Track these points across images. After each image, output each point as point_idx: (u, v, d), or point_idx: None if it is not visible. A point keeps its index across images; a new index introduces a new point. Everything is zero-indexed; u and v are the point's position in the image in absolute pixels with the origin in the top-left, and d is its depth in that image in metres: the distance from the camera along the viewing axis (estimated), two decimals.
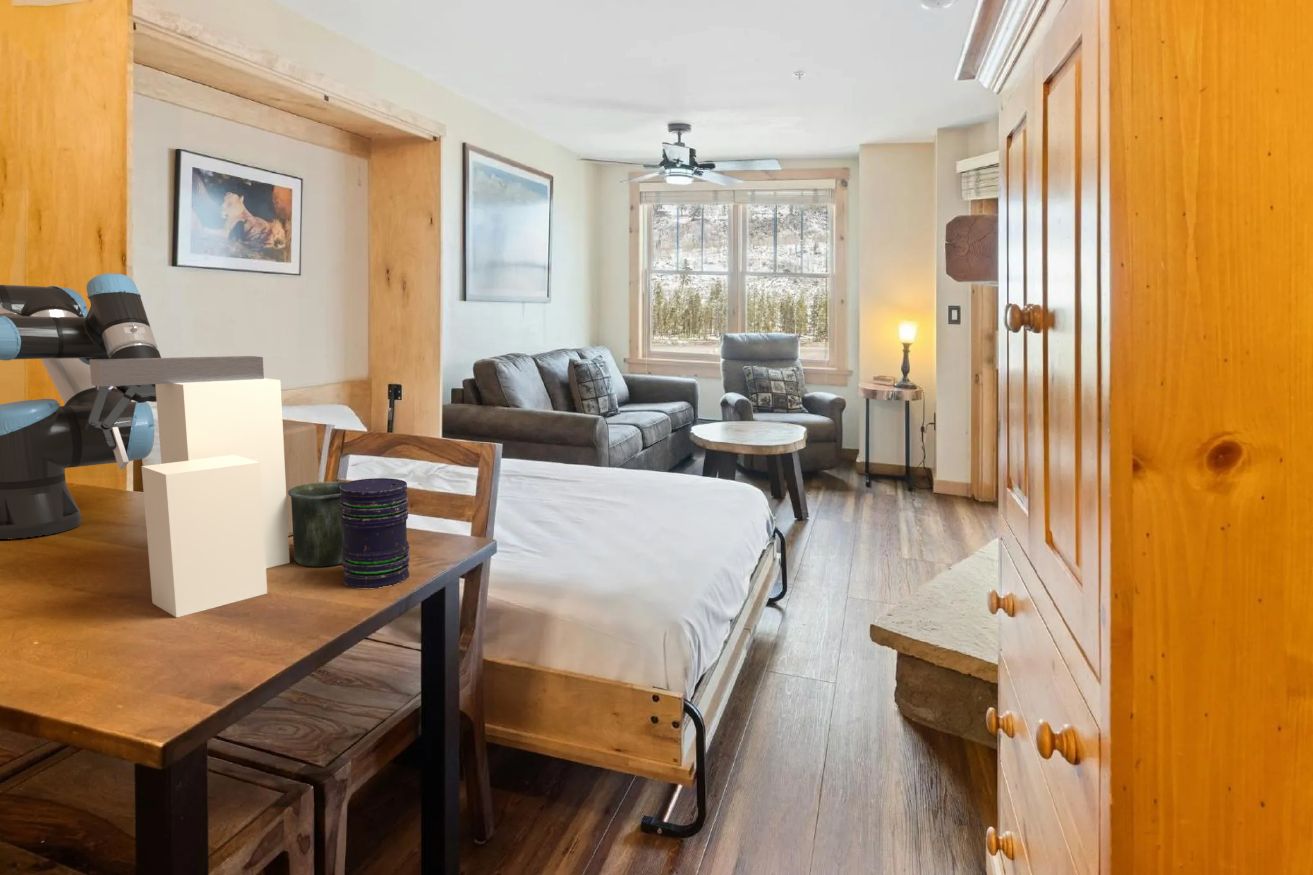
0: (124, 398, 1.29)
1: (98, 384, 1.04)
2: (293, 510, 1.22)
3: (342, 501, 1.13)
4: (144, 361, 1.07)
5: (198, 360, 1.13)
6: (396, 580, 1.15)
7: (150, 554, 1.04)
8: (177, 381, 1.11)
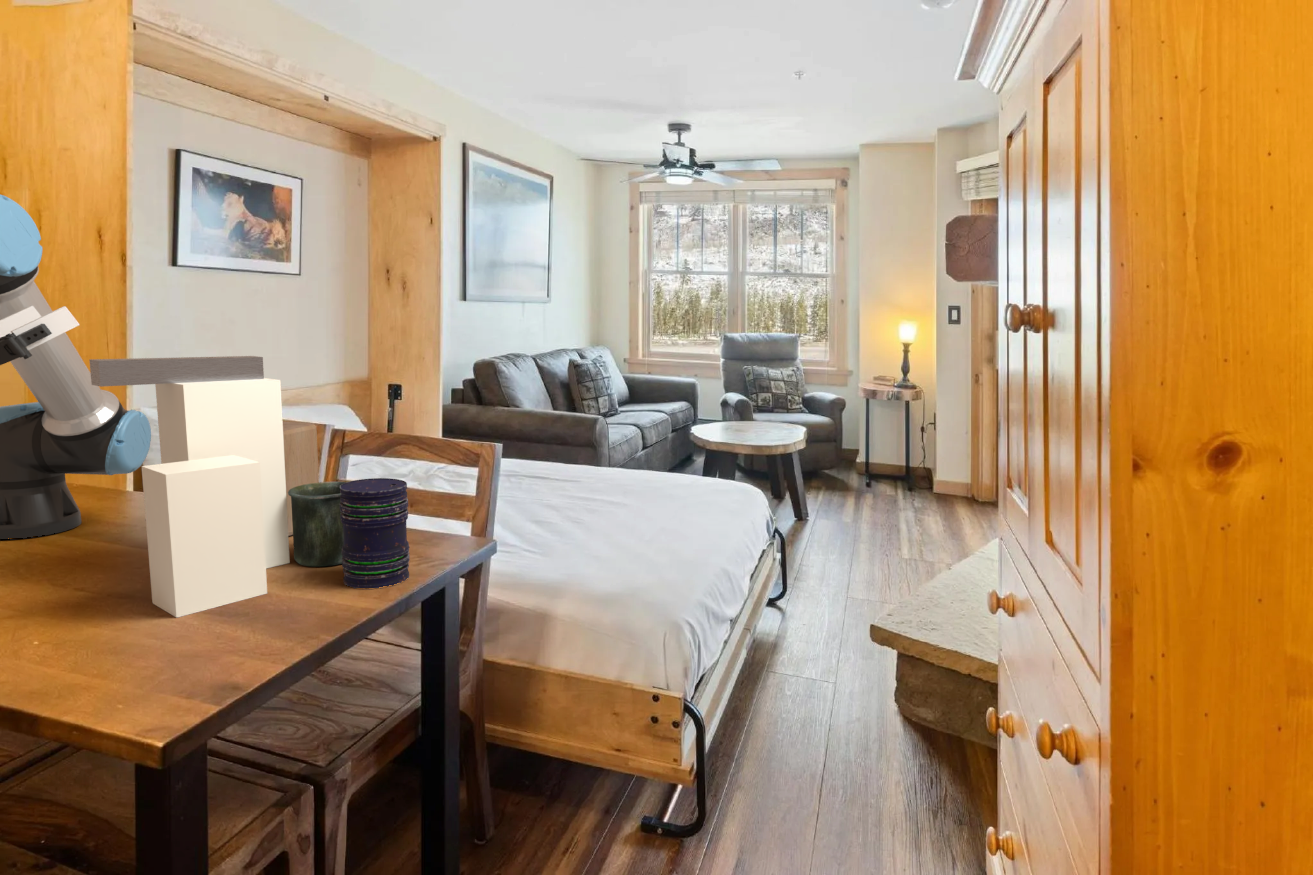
0: None
1: (98, 384, 1.04)
2: (293, 510, 1.22)
3: (342, 501, 1.13)
4: (144, 361, 1.07)
5: (198, 360, 1.13)
6: (396, 580, 1.15)
7: (150, 554, 1.04)
8: (177, 381, 1.11)
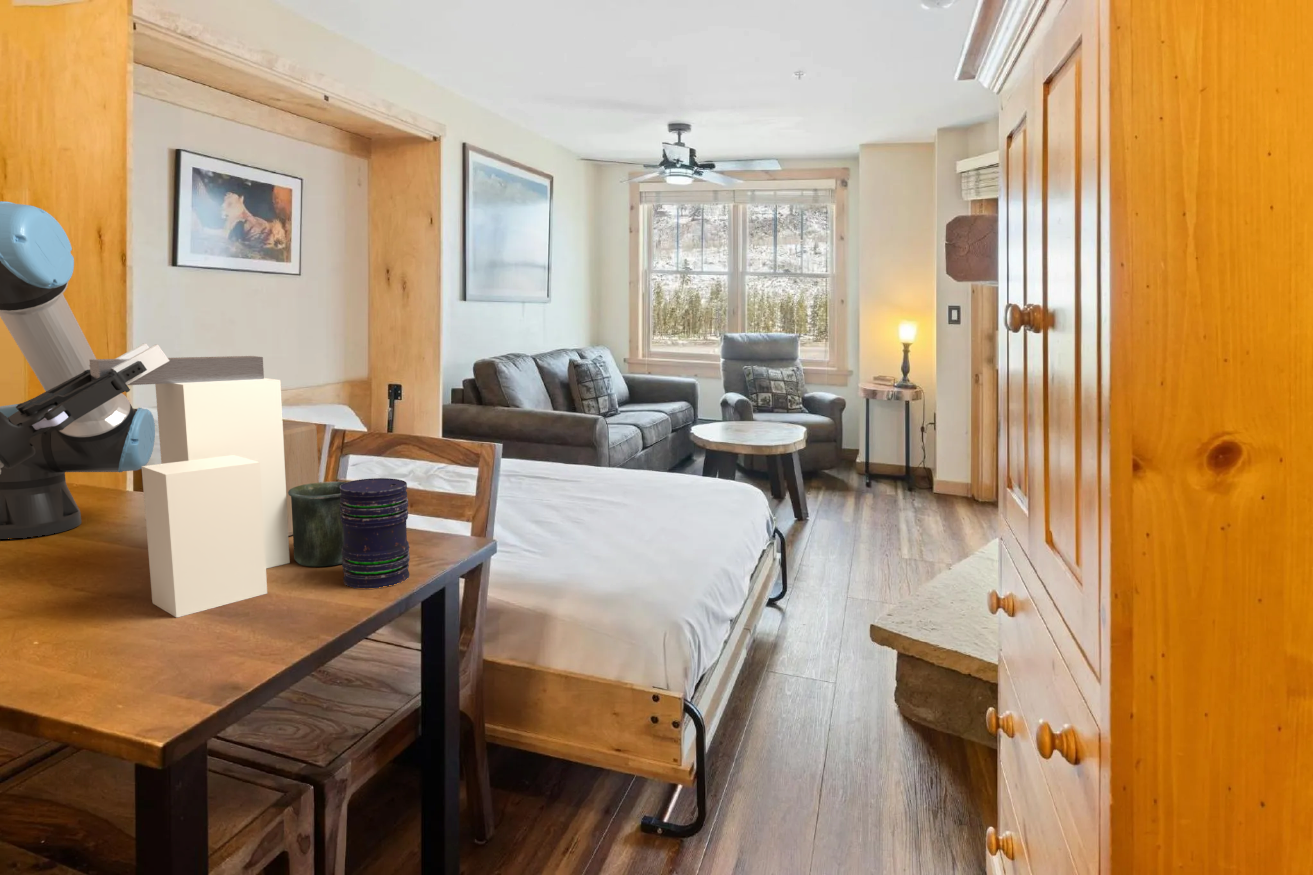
0: None
1: None
2: (293, 510, 1.22)
3: (342, 501, 1.13)
4: None
5: (198, 360, 1.13)
6: (396, 580, 1.15)
7: (150, 554, 1.04)
8: (177, 381, 1.11)
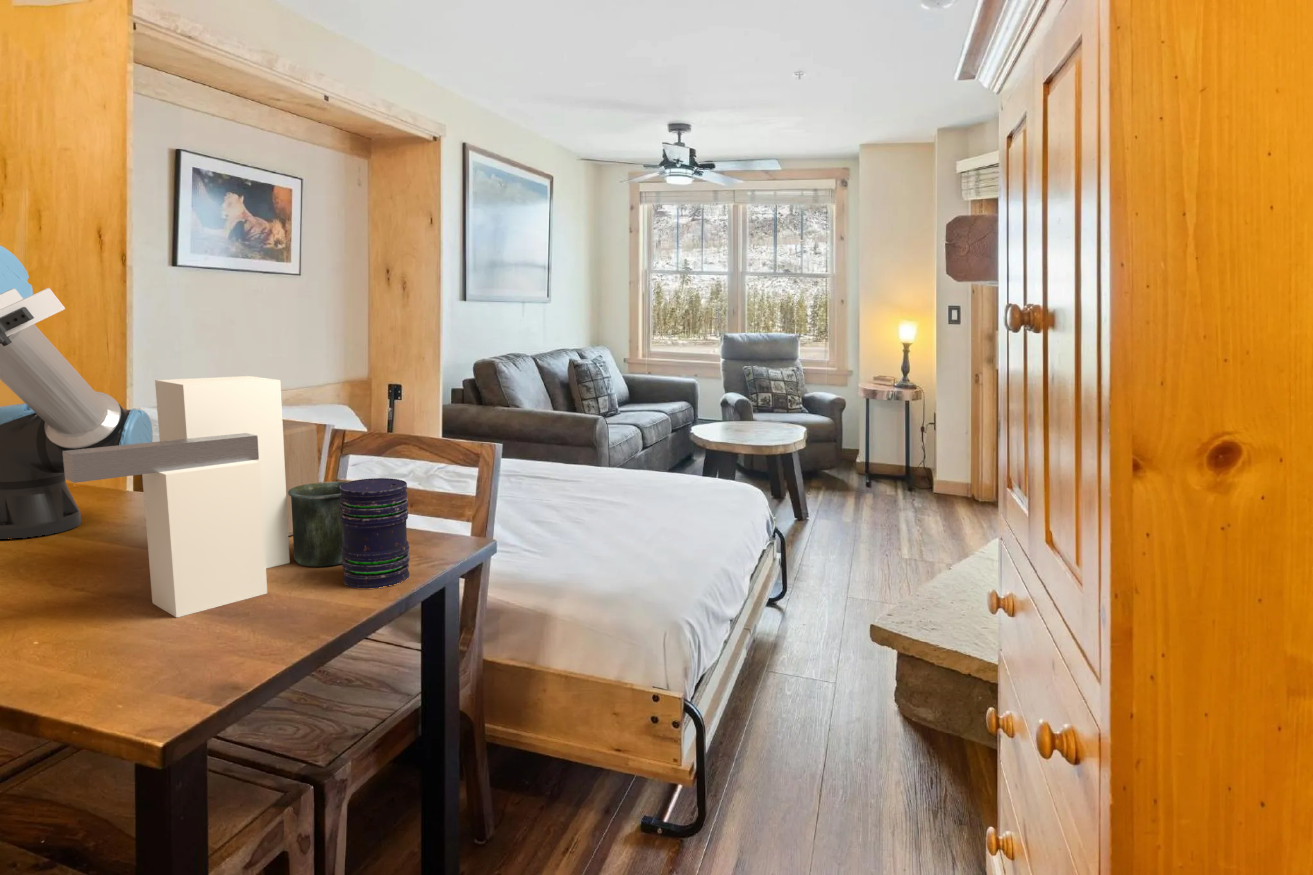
0: None
1: (72, 480, 0.93)
2: (293, 510, 1.22)
3: (342, 501, 1.13)
4: (124, 451, 0.96)
5: (185, 445, 1.02)
6: (396, 580, 1.15)
7: (150, 554, 1.04)
8: (161, 470, 1.00)
